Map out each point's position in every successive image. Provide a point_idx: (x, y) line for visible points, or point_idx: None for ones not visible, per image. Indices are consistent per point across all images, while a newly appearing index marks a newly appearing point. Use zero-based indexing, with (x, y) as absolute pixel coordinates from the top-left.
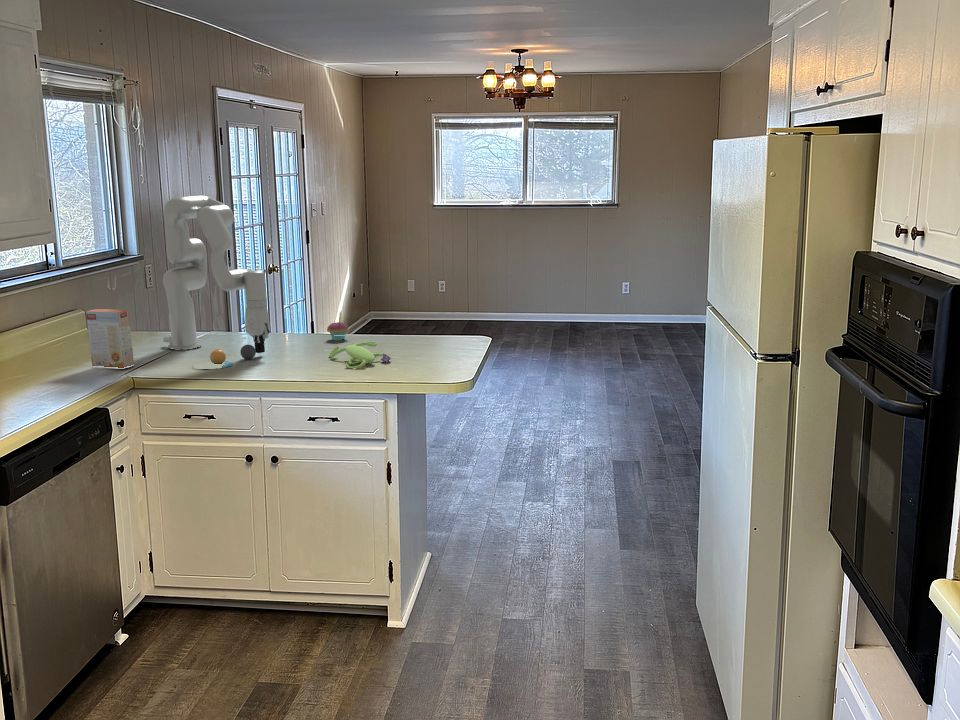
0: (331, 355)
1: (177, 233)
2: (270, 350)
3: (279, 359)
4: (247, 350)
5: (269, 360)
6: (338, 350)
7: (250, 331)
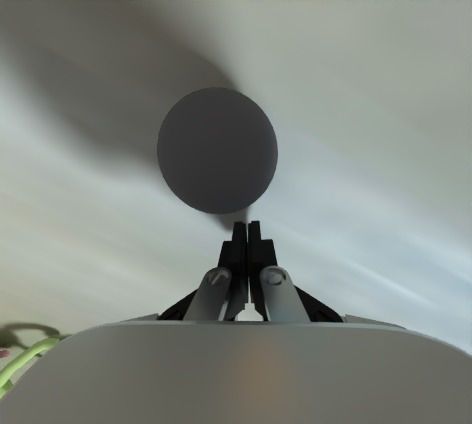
0: (39, 343)
1: None
2: None
3: (130, 247)
4: (161, 128)
5: (132, 211)
6: (5, 369)
7: (288, 371)
